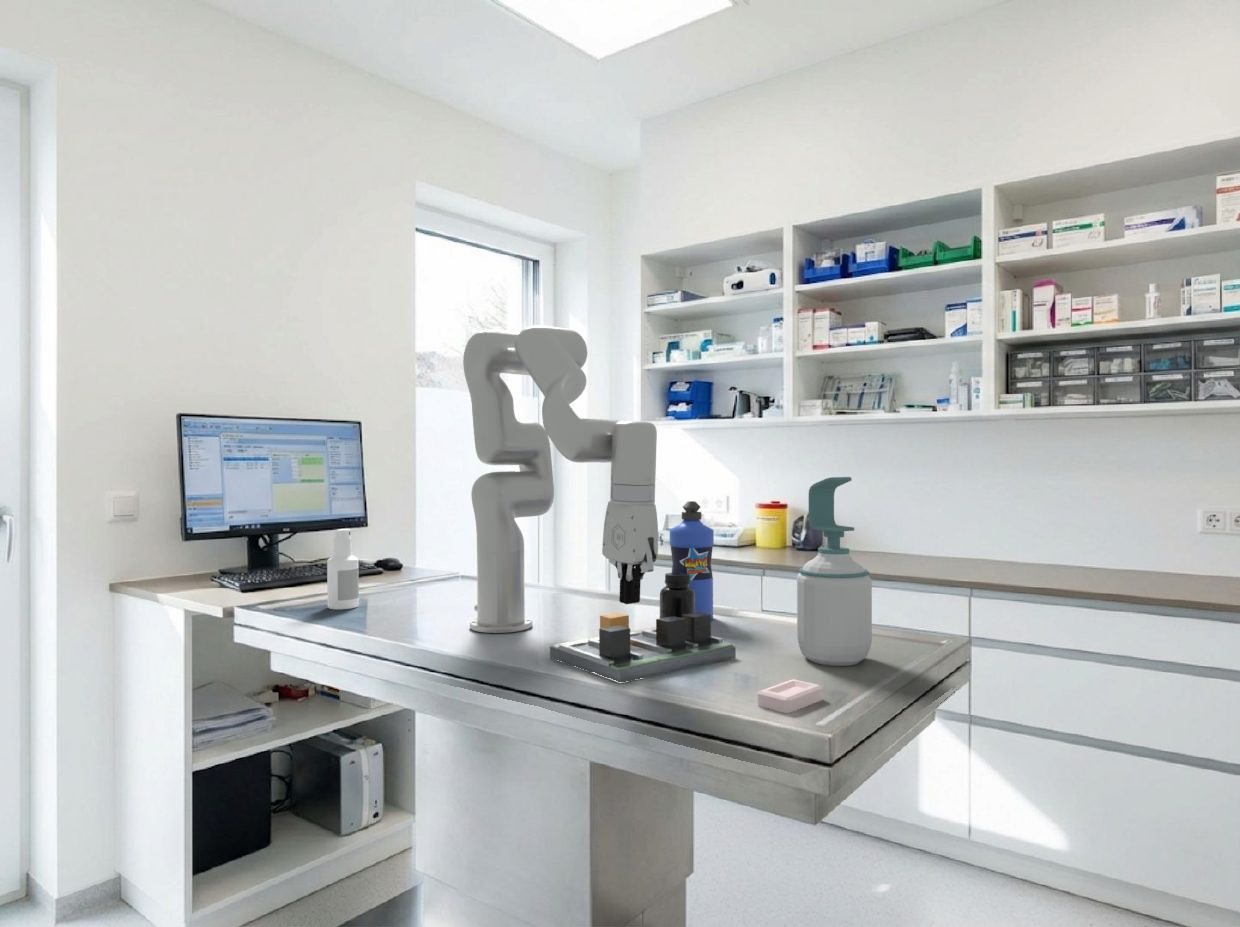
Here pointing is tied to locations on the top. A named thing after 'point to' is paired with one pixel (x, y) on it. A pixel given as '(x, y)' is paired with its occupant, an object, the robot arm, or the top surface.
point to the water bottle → (694, 555)
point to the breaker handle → (614, 620)
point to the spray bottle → (342, 574)
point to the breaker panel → (647, 649)
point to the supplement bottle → (677, 596)
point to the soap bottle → (833, 591)
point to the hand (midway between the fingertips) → (629, 602)
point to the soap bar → (789, 696)
